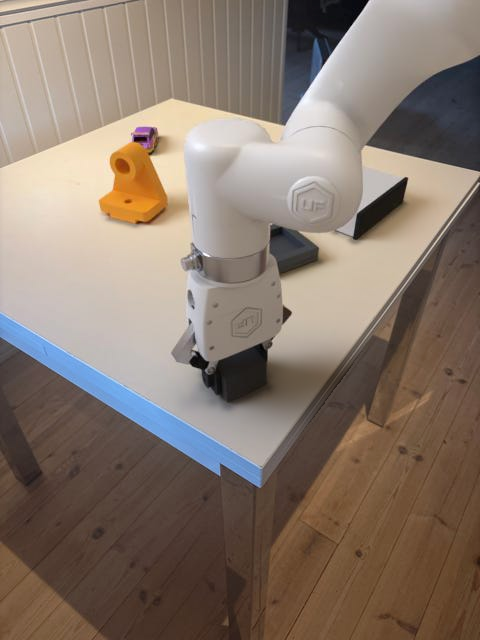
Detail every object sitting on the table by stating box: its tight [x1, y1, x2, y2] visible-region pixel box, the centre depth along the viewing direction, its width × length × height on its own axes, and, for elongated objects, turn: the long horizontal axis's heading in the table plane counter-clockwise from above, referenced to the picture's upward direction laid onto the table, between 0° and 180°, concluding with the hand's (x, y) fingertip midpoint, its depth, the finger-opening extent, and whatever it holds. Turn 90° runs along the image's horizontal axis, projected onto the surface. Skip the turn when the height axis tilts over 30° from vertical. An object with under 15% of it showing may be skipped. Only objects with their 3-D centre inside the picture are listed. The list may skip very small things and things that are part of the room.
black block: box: [217, 347, 268, 403], centre depth 59 cm, size 6×6×4 cm
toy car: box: [130, 126, 159, 154], centre depth 115 cm, size 6×12×5 cm, turn 179°
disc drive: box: [336, 165, 409, 241], centre depth 93 cm, size 18×22×5 cm
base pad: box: [270, 223, 320, 275], centre depth 80 cm, size 10×10×2 cm
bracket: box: [98, 141, 169, 224], centre depth 88 cm, size 11×7×12 cm, turn 65°
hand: (235, 375), depth 60 cm, fingers closed on black block, 5 cm apart
